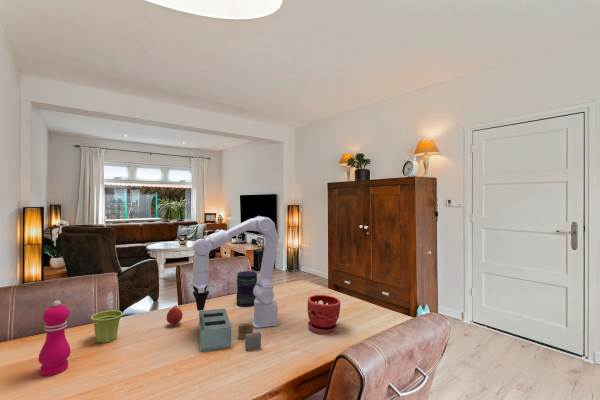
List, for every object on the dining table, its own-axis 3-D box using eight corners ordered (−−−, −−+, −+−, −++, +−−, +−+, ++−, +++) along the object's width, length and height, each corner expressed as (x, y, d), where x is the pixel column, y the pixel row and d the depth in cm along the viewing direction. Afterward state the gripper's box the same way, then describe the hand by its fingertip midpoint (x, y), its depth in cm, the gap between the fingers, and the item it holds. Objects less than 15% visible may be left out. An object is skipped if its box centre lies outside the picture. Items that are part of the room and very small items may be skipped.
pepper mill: (50, 363, 91) (52, 296, 91) (75, 363, 91) (78, 296, 92) (30, 377, 83) (33, 304, 84) (58, 377, 84) (61, 304, 84)
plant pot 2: (317, 338, 112) (318, 306, 112) (301, 325, 124) (301, 296, 124) (346, 332, 118) (347, 301, 118) (328, 320, 130) (328, 292, 130)
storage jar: (254, 307, 143) (255, 276, 144) (234, 307, 144) (234, 275, 144) (257, 301, 153) (258, 271, 154) (238, 300, 154) (239, 270, 154)
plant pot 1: (117, 331, 114) (118, 308, 114) (124, 339, 107) (125, 315, 107) (87, 338, 107) (88, 314, 108) (93, 348, 101) (94, 322, 101)
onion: (176, 329, 117) (176, 308, 117) (163, 327, 118) (163, 307, 118) (184, 323, 123) (185, 303, 123) (172, 322, 124) (172, 302, 124)
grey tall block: (259, 346, 105) (259, 332, 105) (260, 349, 103) (261, 334, 103) (245, 348, 103) (245, 333, 103) (246, 351, 101) (246, 336, 102)
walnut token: (251, 336, 113) (251, 322, 113) (252, 338, 111) (253, 324, 111) (238, 337, 111) (238, 324, 112) (238, 340, 110) (239, 326, 110)
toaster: (224, 325, 122) (225, 308, 122) (230, 347, 104) (231, 326, 104) (198, 328, 118) (199, 310, 118) (200, 351, 100) (200, 330, 100)
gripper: (189, 267, 120) (189, 301, 120) (189, 275, 107) (188, 314, 107) (208, 266, 123) (207, 300, 123) (210, 274, 109) (209, 312, 109)
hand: (200, 306), depth 115 cm, fingers open, 7 cm apart
